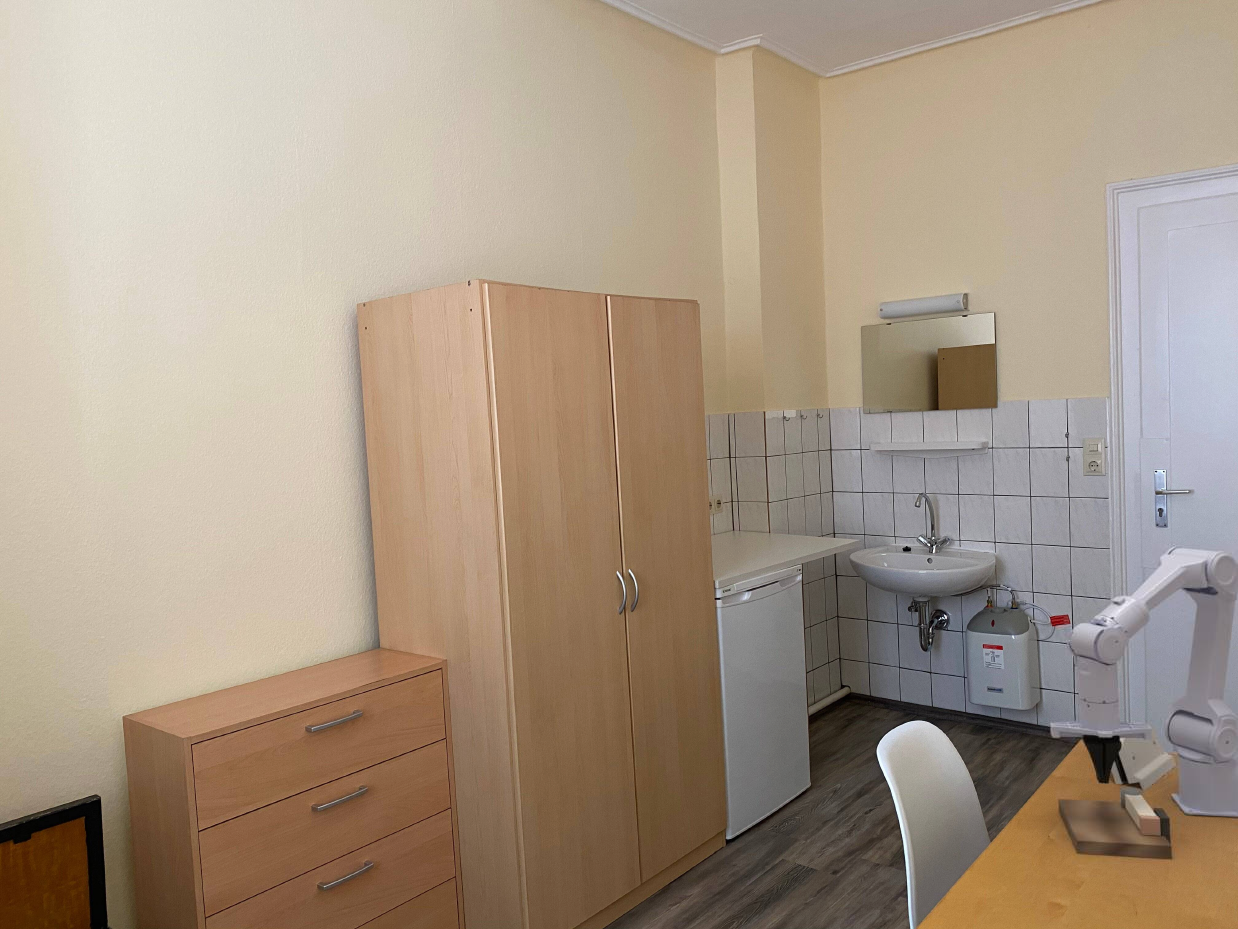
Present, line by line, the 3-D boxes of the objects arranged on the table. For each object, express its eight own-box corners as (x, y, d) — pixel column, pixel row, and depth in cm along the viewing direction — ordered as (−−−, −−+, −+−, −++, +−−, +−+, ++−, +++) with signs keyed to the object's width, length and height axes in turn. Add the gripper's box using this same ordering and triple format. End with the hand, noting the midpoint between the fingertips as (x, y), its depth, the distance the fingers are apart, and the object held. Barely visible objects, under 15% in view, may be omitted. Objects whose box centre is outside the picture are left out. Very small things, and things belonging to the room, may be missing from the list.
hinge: (1144, 790, 166) (1122, 735, 168) (1118, 793, 169) (1097, 739, 171) (1177, 764, 177) (1155, 712, 179) (1152, 767, 180) (1131, 716, 182)
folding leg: (1118, 802, 157) (1118, 786, 156) (1139, 803, 156) (1139, 787, 156) (1140, 834, 144) (1139, 817, 144) (1162, 835, 143) (1162, 818, 143)
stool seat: (1147, 815, 156) (1146, 786, 156) (1177, 859, 140) (1176, 828, 140) (1058, 810, 160) (1057, 783, 159) (1077, 853, 144) (1076, 823, 144)
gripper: (1054, 705, 148) (1058, 788, 148) (1155, 706, 144) (1160, 792, 144) (1046, 692, 155) (1050, 772, 155) (1143, 693, 151) (1147, 775, 151)
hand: (1102, 781), depth 150 cm, fingers closed
